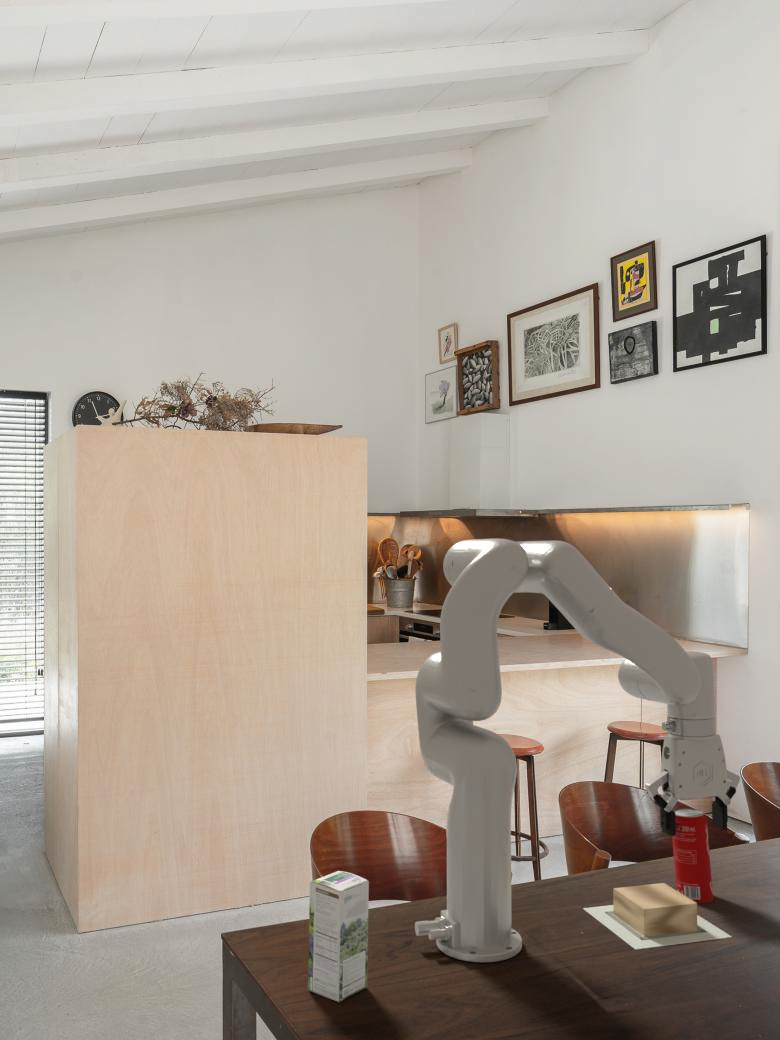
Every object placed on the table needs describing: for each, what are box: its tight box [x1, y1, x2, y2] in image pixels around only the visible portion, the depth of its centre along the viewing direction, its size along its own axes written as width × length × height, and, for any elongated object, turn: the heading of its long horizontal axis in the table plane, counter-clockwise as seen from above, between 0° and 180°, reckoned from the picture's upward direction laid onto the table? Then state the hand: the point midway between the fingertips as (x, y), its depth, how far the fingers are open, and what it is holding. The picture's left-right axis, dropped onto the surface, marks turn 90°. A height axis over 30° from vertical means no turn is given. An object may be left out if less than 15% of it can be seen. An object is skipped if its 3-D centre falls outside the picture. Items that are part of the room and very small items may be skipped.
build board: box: [582, 904, 732, 951], centre depth 143 cm, size 16×16×1 cm
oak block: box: [612, 882, 698, 937], centre depth 144 cm, size 9×9×4 cm
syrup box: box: [307, 870, 370, 1003], centre depth 124 cm, size 6×6×14 cm
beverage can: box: [671, 807, 714, 904], centre depth 155 cm, size 6×6×15 cm
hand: (694, 830), depth 155 cm, fingers open, 9 cm apart
